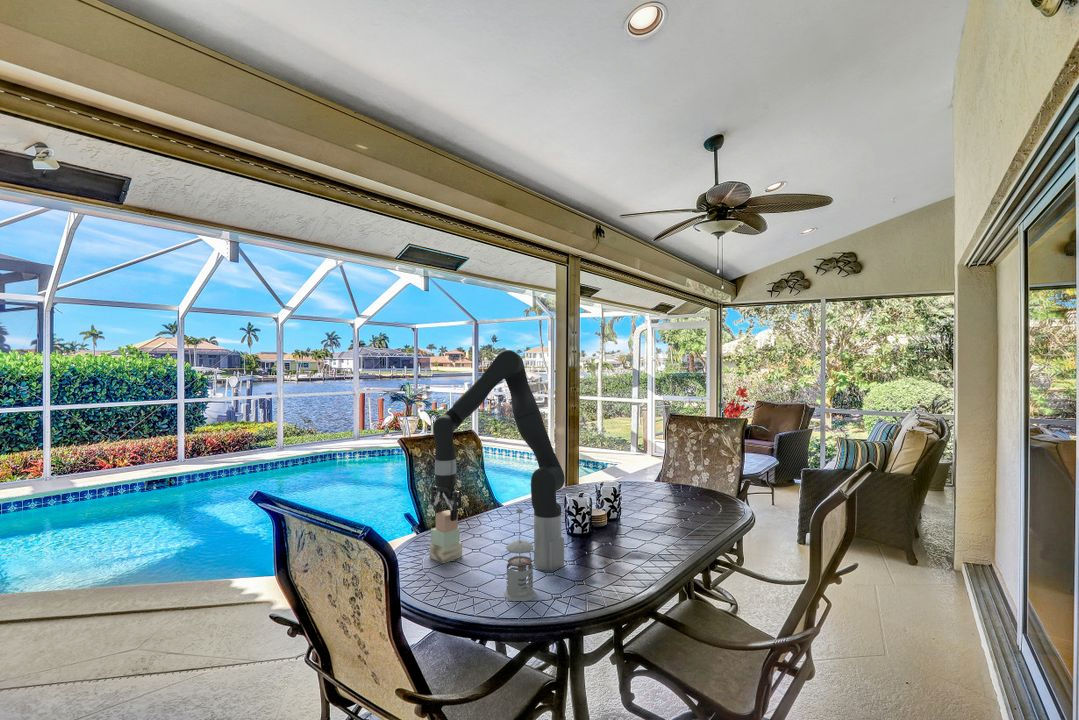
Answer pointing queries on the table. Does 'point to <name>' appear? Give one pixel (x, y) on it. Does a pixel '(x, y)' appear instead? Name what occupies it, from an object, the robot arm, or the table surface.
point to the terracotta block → (445, 521)
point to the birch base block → (446, 552)
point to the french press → (520, 571)
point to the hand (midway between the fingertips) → (445, 518)
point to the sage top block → (444, 537)
